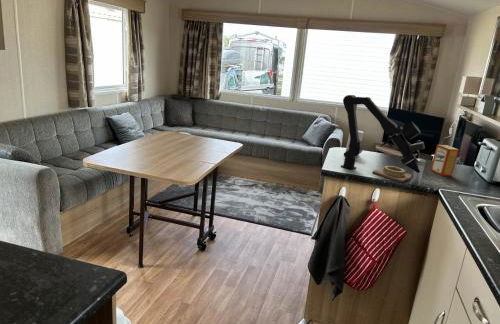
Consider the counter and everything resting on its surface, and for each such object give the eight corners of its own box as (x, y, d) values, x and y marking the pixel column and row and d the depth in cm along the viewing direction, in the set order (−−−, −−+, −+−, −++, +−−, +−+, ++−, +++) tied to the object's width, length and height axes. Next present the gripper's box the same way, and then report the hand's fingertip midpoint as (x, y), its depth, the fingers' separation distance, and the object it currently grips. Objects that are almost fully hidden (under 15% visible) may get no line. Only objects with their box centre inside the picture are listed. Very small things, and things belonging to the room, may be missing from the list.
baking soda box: (451, 176, 207) (459, 149, 202) (441, 175, 205) (449, 148, 200) (439, 170, 215) (446, 144, 211) (430, 170, 214) (437, 143, 209)
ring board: (401, 182, 183) (403, 175, 182) (372, 173, 194) (373, 166, 193) (413, 177, 195) (415, 171, 194) (385, 168, 205) (386, 162, 204)
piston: (417, 186, 180) (423, 161, 176) (407, 183, 183) (414, 159, 179) (420, 185, 183) (427, 160, 179) (411, 182, 186) (417, 157, 182)
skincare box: (345, 155, 225) (349, 130, 221) (345, 152, 232) (349, 128, 227) (358, 157, 224) (364, 132, 219) (358, 155, 230) (363, 130, 226)
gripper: (414, 138, 170) (434, 166, 168) (419, 133, 186) (437, 158, 184) (393, 150, 176) (412, 177, 174) (399, 144, 192) (417, 169, 190)
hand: (420, 170), depth 180 cm, fingers open, 9 cm apart
